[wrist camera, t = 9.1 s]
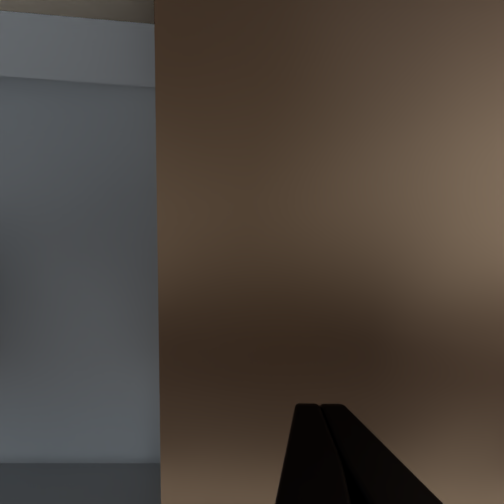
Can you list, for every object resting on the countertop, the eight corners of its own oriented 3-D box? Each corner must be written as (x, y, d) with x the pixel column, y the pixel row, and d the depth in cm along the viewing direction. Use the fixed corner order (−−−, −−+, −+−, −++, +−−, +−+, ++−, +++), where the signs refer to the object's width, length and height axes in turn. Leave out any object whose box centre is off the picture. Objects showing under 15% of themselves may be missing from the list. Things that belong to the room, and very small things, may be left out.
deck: (573, 511, 15) (685, 652, 11) (174, 515, 14) (156, 674, 10) (850, -10, 9) (1290, -67, 5) (176, -83, 8) (135, -223, 4)
